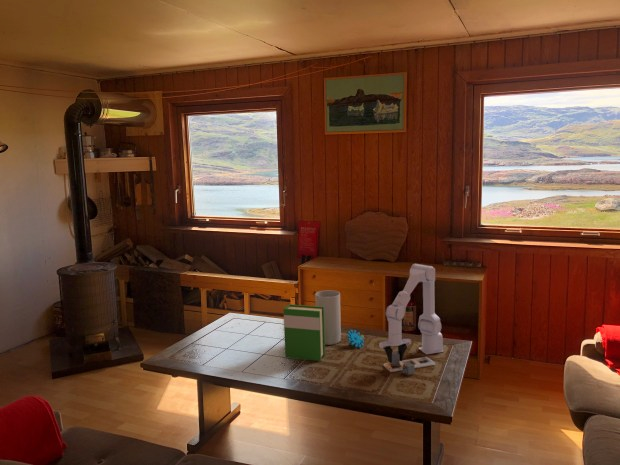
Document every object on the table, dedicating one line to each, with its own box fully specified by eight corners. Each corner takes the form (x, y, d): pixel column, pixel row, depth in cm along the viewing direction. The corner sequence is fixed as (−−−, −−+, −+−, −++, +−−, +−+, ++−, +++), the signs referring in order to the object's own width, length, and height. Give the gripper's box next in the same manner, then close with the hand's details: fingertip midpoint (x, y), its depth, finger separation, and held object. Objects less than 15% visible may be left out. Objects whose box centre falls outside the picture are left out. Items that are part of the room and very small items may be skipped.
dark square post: (398, 363, 230) (398, 351, 229) (399, 367, 227) (399, 354, 226) (390, 363, 230) (390, 351, 229) (391, 367, 227) (391, 354, 226)
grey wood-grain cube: (408, 370, 225) (408, 362, 225) (414, 373, 222) (414, 365, 222) (402, 372, 223) (402, 364, 223) (408, 375, 220) (408, 366, 220)
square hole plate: (427, 359, 237) (427, 356, 237) (435, 364, 230) (435, 362, 230) (383, 366, 231) (383, 363, 231) (390, 372, 224) (390, 369, 224)
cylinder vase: (320, 346, 256) (318, 298, 252) (314, 337, 268) (312, 291, 264) (344, 343, 259) (343, 295, 255) (337, 335, 271) (336, 289, 267)
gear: (354, 347, 249) (345, 330, 253) (347, 354, 252) (338, 336, 257) (369, 344, 256) (360, 327, 261) (362, 350, 260) (353, 333, 264)
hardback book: (325, 355, 245) (323, 306, 242) (320, 361, 238) (319, 311, 235) (290, 351, 251) (289, 304, 247) (285, 357, 244) (283, 308, 240)
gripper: (405, 327, 232) (405, 355, 234) (376, 331, 228) (376, 360, 230) (413, 332, 225) (413, 361, 227) (382, 336, 221) (383, 366, 223)
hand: (395, 361), depth 228 cm, fingers closed on dark square post, 4 cm apart
